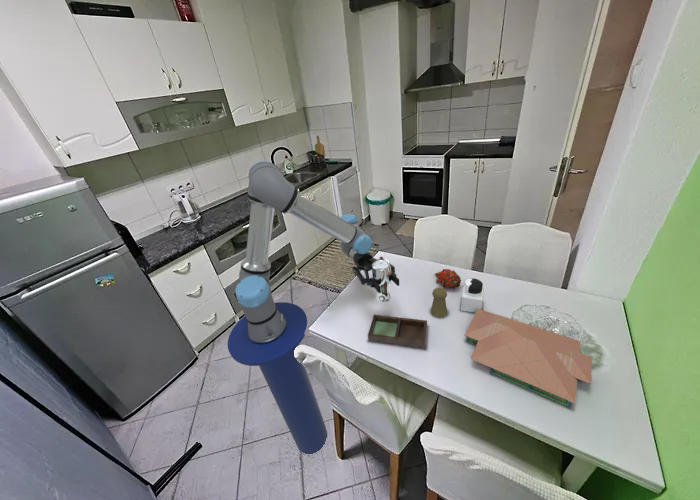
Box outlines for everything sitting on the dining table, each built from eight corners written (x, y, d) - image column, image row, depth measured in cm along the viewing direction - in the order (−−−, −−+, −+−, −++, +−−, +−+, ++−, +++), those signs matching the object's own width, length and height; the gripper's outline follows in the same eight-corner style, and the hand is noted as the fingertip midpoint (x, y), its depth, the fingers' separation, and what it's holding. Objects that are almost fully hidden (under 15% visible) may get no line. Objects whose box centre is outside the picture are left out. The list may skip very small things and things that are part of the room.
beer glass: (383, 288, 110) (380, 257, 103) (396, 296, 106) (394, 263, 98) (371, 297, 107) (367, 265, 99) (384, 305, 102) (381, 272, 94)
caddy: (368, 341, 101) (367, 335, 99) (374, 320, 109) (374, 314, 107) (425, 349, 94) (425, 343, 93) (427, 326, 103) (427, 320, 101)
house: (585, 416, 71) (595, 397, 66) (455, 359, 90) (456, 342, 85) (588, 352, 85) (597, 333, 81) (476, 314, 104) (478, 298, 100)
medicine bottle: (481, 301, 110) (485, 277, 103) (480, 314, 104) (484, 289, 98) (462, 298, 113) (464, 275, 106) (460, 310, 107) (462, 286, 101)
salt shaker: (448, 308, 109) (450, 287, 103) (444, 319, 104) (446, 297, 99) (433, 305, 112) (433, 283, 106) (428, 314, 107) (429, 293, 102)
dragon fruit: (460, 295, 117) (436, 287, 126) (468, 277, 118) (443, 271, 127) (453, 287, 111) (427, 280, 120) (461, 269, 113) (435, 263, 122)
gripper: (382, 257, 121) (412, 284, 103) (340, 272, 116) (365, 304, 97) (380, 242, 118) (412, 268, 99) (338, 257, 112) (363, 287, 93)
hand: (389, 286), depth 98 cm, fingers closed on beer glass, 7 cm apart
